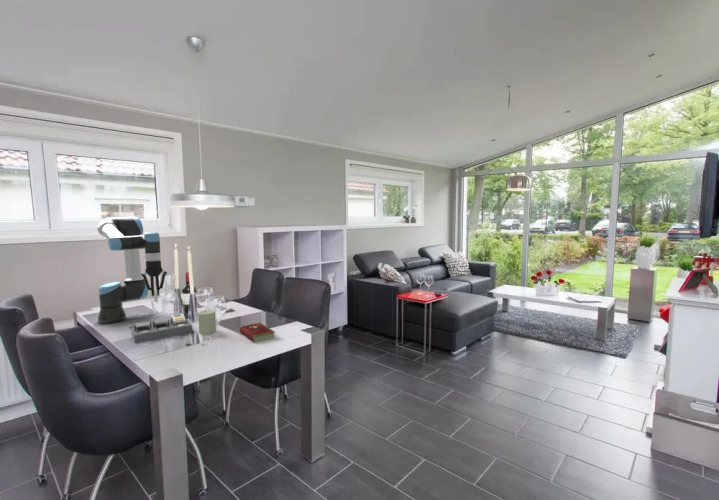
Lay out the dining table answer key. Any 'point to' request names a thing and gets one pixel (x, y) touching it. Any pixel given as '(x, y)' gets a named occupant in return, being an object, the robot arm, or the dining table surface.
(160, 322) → the rocker middle
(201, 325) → the can
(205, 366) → the dining table surface
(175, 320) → the rocker
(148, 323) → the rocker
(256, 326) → the hardcover book
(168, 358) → the dining table surface
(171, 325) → the rocker switch panel
